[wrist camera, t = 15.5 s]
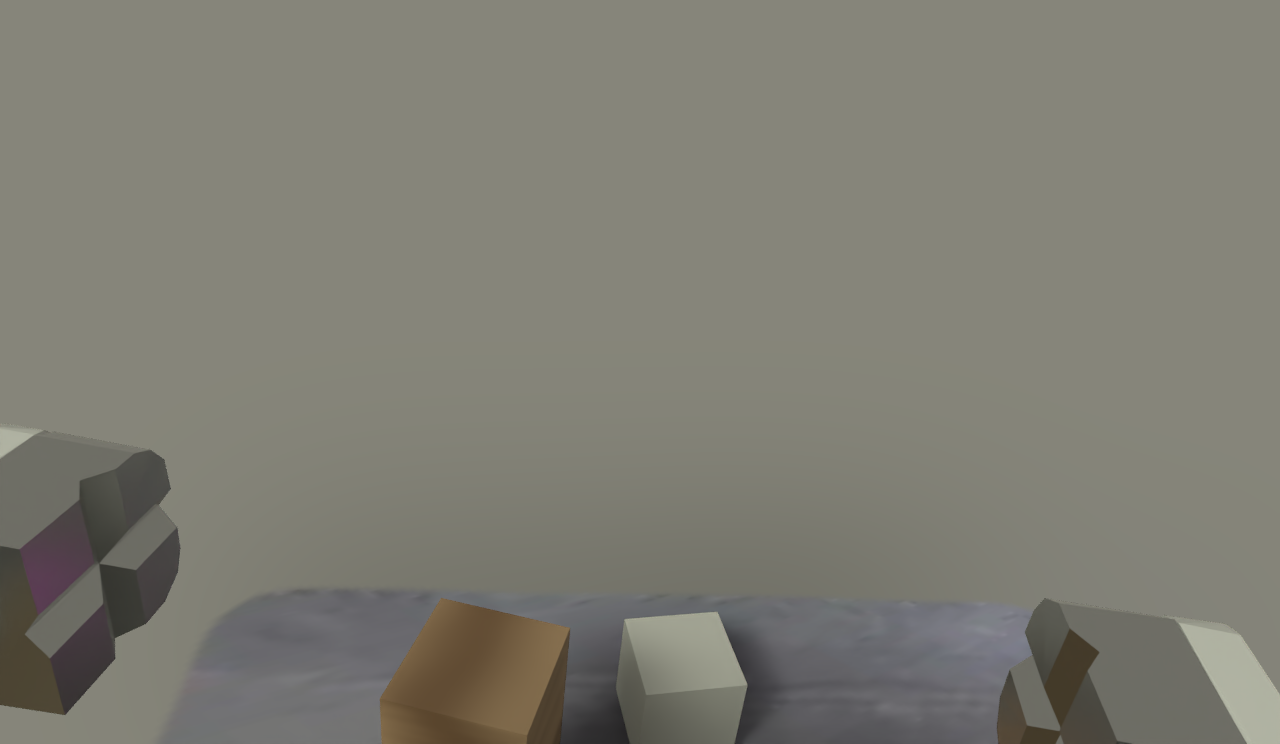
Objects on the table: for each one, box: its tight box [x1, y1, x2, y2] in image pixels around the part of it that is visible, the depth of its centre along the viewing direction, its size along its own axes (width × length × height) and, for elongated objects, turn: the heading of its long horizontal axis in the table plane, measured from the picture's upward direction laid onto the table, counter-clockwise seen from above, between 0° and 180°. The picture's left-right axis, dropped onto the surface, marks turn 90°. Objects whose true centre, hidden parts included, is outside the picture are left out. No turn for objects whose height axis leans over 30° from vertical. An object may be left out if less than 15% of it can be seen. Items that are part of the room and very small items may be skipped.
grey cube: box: [616, 612, 747, 744], centre depth 46 cm, size 5×5×5 cm
